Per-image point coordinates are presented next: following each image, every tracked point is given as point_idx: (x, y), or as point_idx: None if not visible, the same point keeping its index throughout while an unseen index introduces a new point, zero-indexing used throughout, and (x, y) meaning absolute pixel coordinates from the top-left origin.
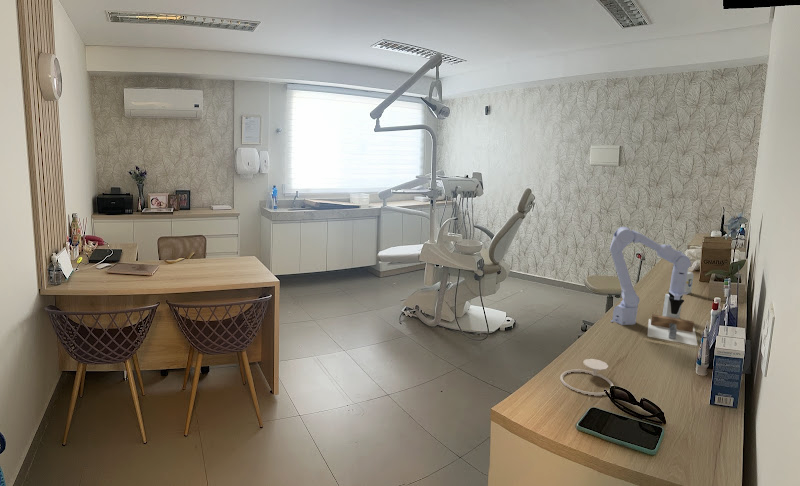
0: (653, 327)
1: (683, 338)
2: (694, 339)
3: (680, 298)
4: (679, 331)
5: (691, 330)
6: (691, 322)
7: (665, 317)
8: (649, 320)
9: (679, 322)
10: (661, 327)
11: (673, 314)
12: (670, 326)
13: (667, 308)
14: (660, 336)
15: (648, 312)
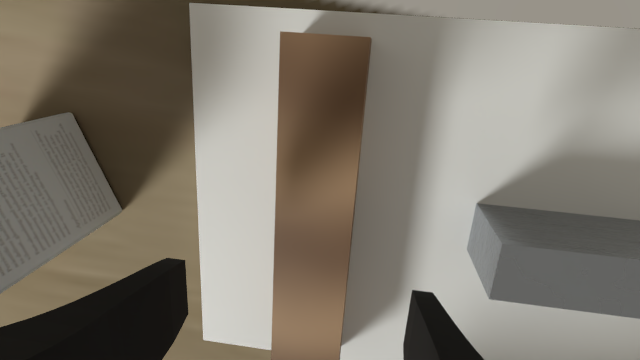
0: (403, 338)
1: (608, 149)
2: (603, 47)
3: (43, 357)
4: (409, 157)
5: (370, 51)
6: (344, 63)
7: (306, 307)
8: (241, 340)
9: (356, 183)
10: (371, 284)
11: (54, 183)
12: (612, 310)
13: (37, 268)
14: (619, 323)
15: (12, 300)
